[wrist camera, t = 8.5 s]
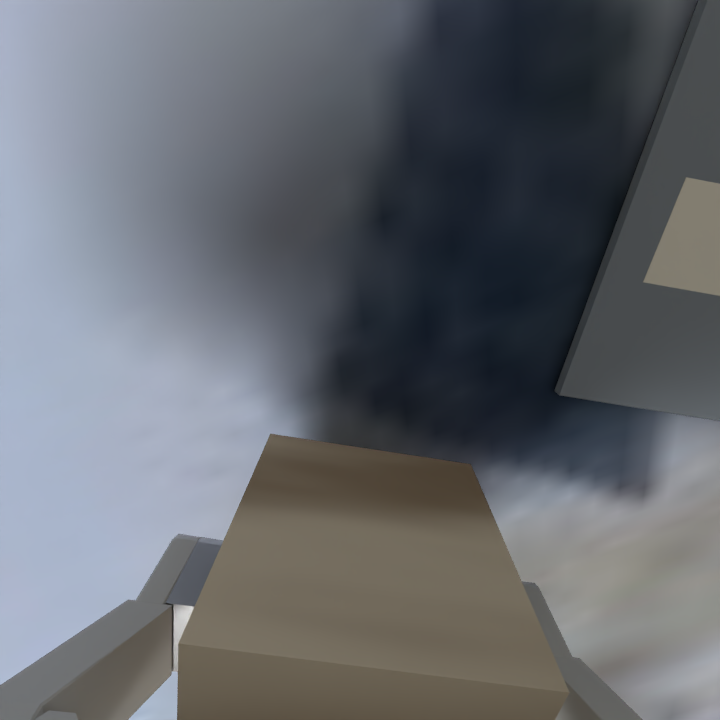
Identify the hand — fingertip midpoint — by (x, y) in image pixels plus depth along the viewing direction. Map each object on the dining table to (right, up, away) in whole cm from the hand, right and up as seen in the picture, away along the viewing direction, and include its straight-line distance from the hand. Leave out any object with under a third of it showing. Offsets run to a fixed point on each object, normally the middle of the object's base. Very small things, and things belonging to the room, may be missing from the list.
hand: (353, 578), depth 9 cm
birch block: (0, 0, +2) cm, 2 cm away
